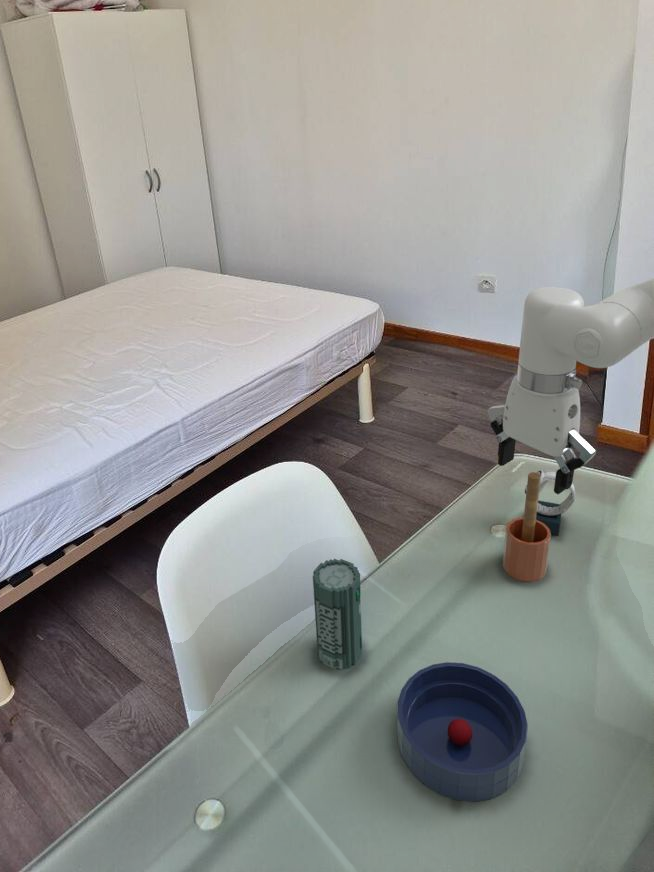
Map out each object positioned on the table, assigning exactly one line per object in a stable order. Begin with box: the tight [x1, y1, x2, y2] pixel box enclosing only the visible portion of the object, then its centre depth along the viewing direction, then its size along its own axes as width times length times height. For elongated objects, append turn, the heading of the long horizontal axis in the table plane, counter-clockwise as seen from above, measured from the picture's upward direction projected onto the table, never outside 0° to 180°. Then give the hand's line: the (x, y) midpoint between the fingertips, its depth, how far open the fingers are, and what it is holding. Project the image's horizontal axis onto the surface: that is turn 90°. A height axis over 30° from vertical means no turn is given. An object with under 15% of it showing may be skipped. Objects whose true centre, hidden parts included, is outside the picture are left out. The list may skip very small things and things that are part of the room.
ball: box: [447, 719, 472, 746], centre depth 85 cm, size 3×3×3 cm
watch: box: [524, 469, 576, 537], centre depth 119 cm, size 6×8×11 cm
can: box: [312, 558, 363, 671], centre depth 96 cm, size 6×6×15 cm
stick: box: [521, 471, 541, 543], centre depth 108 cm, size 2×2×18 cm
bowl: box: [396, 661, 529, 803], centre depth 85 cm, size 15×15×6 cm
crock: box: [502, 517, 552, 583], centre depth 110 cm, size 7×7×8 cm
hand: (532, 475), depth 104 cm, fingers open, 9 cm apart
